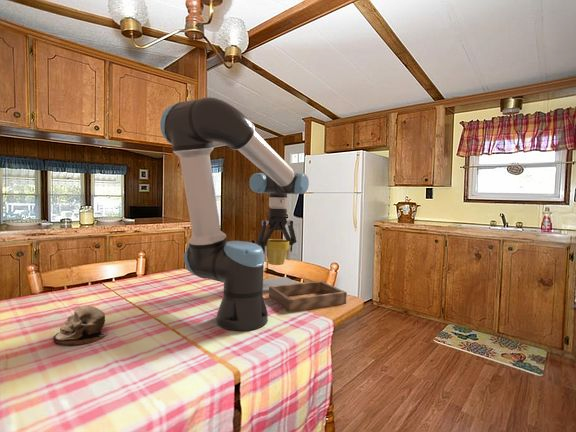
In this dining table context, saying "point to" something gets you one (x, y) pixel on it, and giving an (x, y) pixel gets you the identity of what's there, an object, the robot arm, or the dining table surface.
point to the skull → (82, 326)
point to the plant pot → (276, 251)
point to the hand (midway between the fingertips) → (276, 260)
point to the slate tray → (276, 283)
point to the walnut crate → (296, 304)
